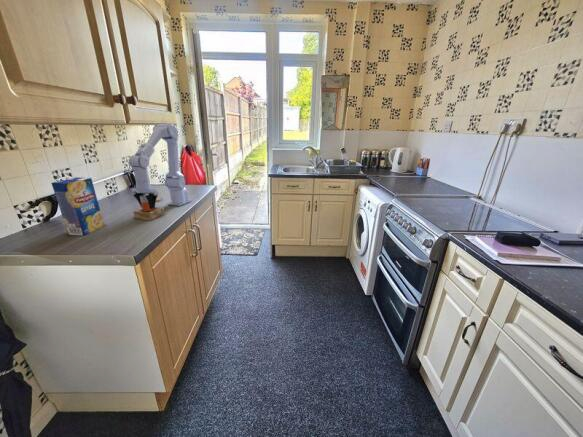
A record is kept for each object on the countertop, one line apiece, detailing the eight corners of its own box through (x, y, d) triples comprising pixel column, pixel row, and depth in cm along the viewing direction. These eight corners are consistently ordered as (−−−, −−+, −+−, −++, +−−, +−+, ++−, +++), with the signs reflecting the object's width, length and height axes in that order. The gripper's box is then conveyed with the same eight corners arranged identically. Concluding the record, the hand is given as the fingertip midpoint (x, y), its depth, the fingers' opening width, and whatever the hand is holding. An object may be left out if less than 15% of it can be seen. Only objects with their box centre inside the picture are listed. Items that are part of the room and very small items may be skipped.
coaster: (152, 197, 155) (152, 197, 155) (164, 199, 153) (164, 198, 153) (140, 201, 147) (140, 200, 147) (152, 203, 145) (152, 202, 145)
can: (149, 214, 127) (145, 193, 124) (158, 215, 126) (154, 194, 122) (141, 217, 123) (136, 196, 119) (149, 218, 121) (145, 197, 117)
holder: (149, 212, 130) (148, 206, 128) (164, 214, 127) (162, 208, 126) (134, 218, 121) (133, 211, 120) (149, 220, 119) (148, 213, 118)
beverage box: (104, 225, 112) (91, 177, 104) (83, 235, 102) (67, 183, 94) (90, 224, 113) (76, 177, 105) (68, 234, 102) (51, 182, 95)
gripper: (123, 181, 116) (129, 208, 121) (148, 183, 112) (153, 211, 117) (136, 178, 123) (141, 204, 127) (159, 180, 119) (164, 207, 124)
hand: (148, 207), depth 123 cm, fingers closed on can, 5 cm apart
